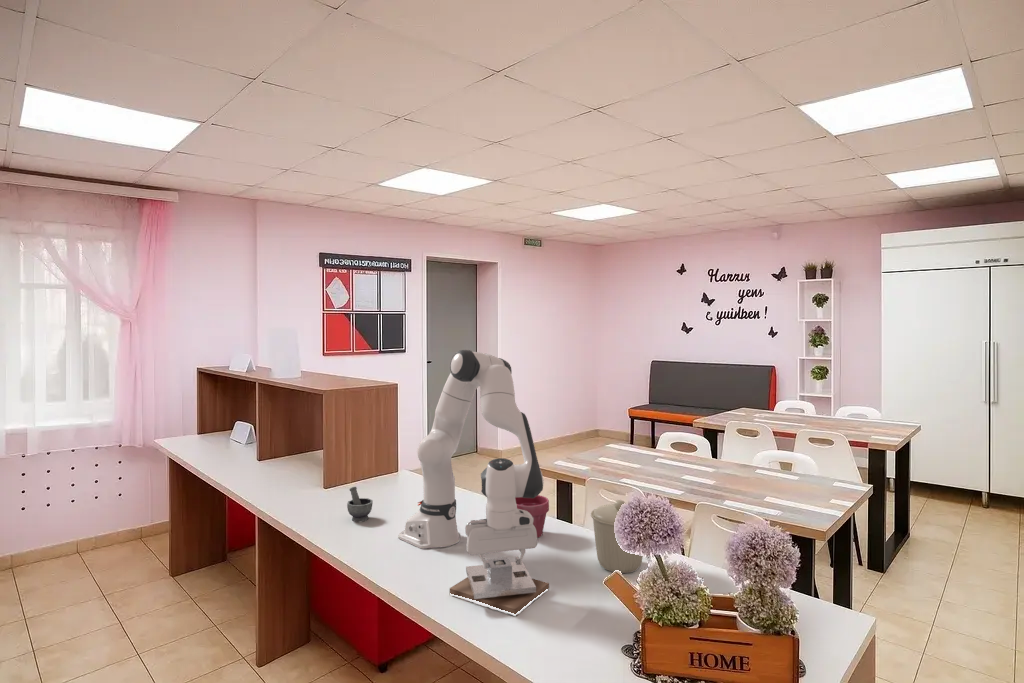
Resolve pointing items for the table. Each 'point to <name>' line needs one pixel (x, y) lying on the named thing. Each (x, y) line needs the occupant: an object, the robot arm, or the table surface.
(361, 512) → the mortar and pestle
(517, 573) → the flange plate
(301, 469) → the table surface
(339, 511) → the table surface
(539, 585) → the post base
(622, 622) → the table surface
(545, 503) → the plant pot
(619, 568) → the canister
